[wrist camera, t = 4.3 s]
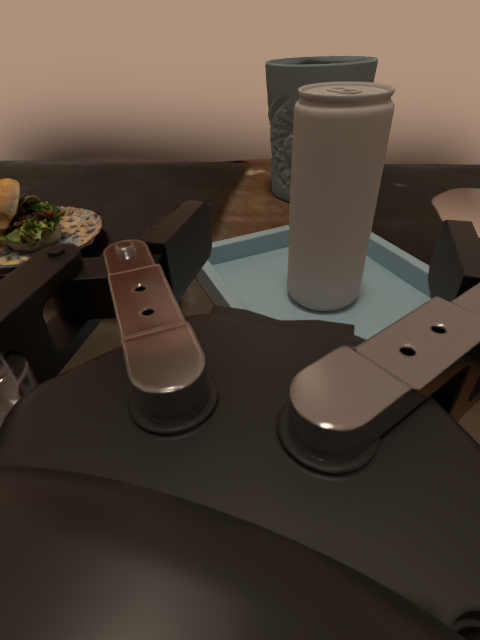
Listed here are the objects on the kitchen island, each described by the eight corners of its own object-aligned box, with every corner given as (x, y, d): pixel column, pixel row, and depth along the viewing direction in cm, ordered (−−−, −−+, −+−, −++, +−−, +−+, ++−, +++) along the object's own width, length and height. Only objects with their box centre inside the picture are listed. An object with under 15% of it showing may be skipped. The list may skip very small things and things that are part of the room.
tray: (189, 268, 30) (187, 248, 29) (337, 232, 34) (339, 212, 33) (291, 417, 18) (293, 391, 17) (494, 335, 23) (506, 310, 21)
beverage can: (312, 324, 23) (335, 100, 16) (272, 286, 27) (276, 87, 20) (374, 301, 25) (421, 88, 18) (329, 268, 29) (352, 78, 21)
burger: (92, 282, 29) (59, 181, 24) (-71, 293, 28) (-135, 192, 24) (119, 217, 38) (100, 136, 34) (-2, 225, 38) (-39, 143, 33)
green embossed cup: (284, 213, 38) (289, 66, 30) (252, 181, 45) (250, 58, 38) (376, 199, 40) (402, 58, 32) (331, 171, 47) (344, 52, 40)
